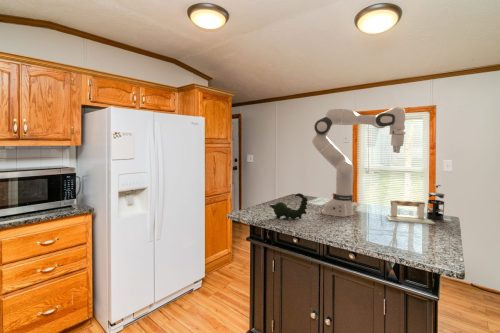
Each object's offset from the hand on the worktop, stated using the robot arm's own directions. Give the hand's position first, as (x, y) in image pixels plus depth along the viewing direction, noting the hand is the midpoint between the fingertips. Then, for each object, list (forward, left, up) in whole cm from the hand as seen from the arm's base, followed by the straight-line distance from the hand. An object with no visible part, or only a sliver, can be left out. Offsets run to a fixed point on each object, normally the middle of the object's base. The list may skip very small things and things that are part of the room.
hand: (396, 152), depth 178 cm
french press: (+26, +4, -44) cm, 51 cm away
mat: (+9, -6, -44) cm, 45 cm away
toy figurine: (-68, -24, -44) cm, 85 cm away
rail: (+9, +3, -36) cm, 37 cm away
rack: (+9, +3, -44) cm, 45 cm away
